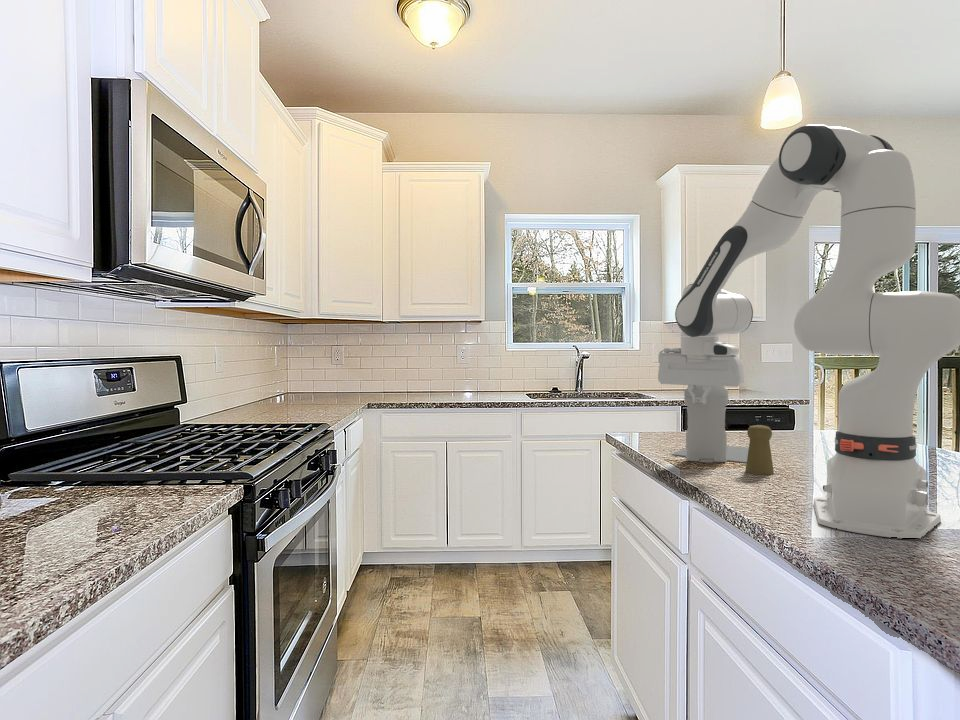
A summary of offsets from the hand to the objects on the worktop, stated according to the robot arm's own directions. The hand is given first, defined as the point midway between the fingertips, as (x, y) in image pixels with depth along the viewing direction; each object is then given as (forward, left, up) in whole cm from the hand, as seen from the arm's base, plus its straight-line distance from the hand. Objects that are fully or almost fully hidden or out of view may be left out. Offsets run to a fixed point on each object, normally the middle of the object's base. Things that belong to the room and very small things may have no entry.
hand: (699, 403), depth 149 cm
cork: (-1, -14, -16) cm, 21 cm away
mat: (+19, 0, -15) cm, 25 cm away
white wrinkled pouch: (+5, 0, -16) cm, 16 cm away
